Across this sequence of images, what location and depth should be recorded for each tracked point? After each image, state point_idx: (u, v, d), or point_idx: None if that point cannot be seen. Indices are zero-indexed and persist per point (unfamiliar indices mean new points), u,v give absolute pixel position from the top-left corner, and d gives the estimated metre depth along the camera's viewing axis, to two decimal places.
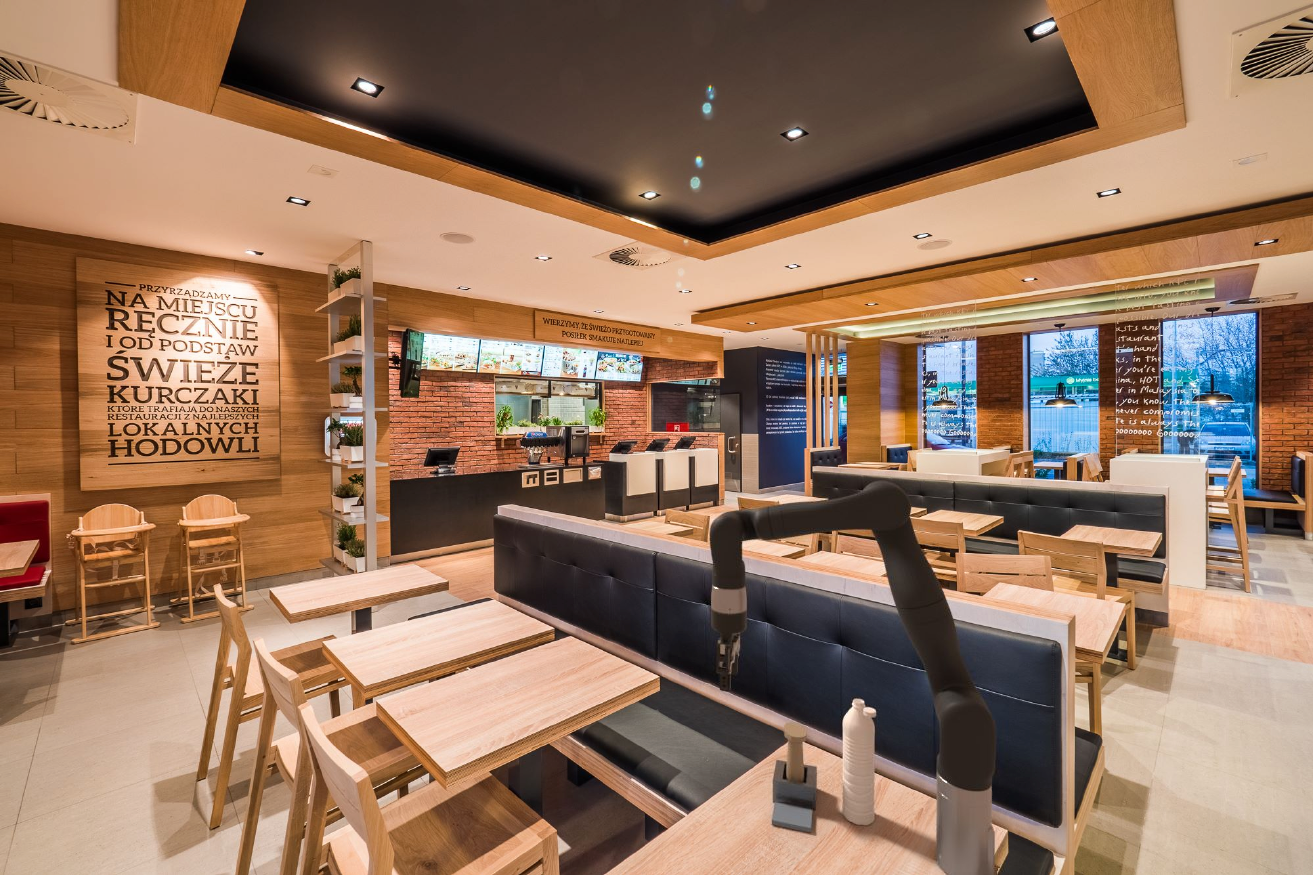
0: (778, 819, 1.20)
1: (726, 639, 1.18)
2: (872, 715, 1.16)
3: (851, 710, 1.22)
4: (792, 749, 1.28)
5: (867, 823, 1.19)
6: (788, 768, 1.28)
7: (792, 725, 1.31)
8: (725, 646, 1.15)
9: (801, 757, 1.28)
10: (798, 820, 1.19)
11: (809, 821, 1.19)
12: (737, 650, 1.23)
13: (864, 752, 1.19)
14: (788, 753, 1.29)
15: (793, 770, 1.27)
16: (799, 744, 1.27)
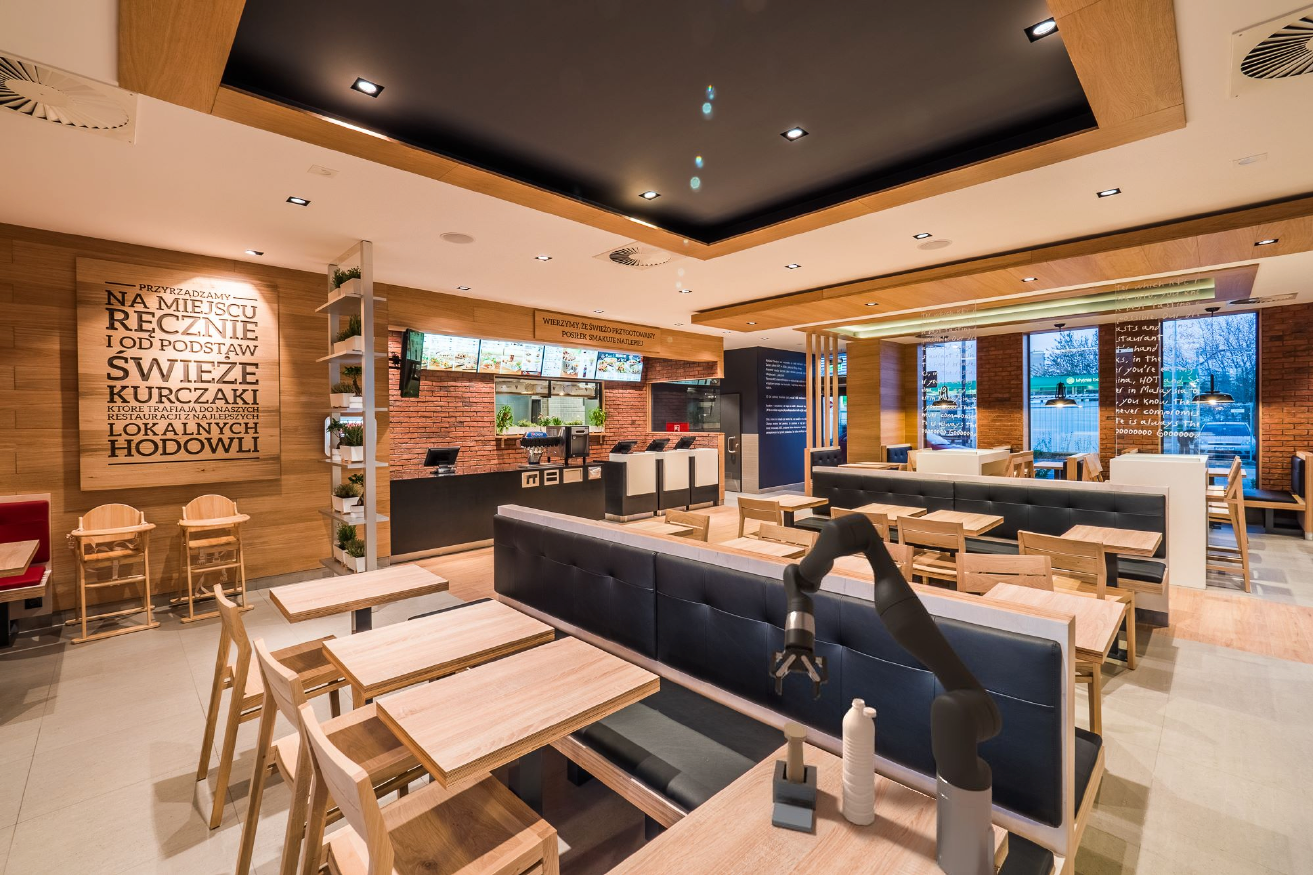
0: (778, 819, 1.20)
1: None
2: (872, 715, 1.16)
3: (851, 710, 1.22)
4: (792, 749, 1.28)
5: (867, 823, 1.19)
6: (788, 768, 1.28)
7: (792, 725, 1.31)
8: None
9: (801, 757, 1.28)
10: (798, 820, 1.19)
11: (809, 821, 1.19)
12: (809, 672, 1.41)
13: (864, 752, 1.19)
14: (788, 753, 1.29)
15: (793, 770, 1.27)
16: (799, 744, 1.27)
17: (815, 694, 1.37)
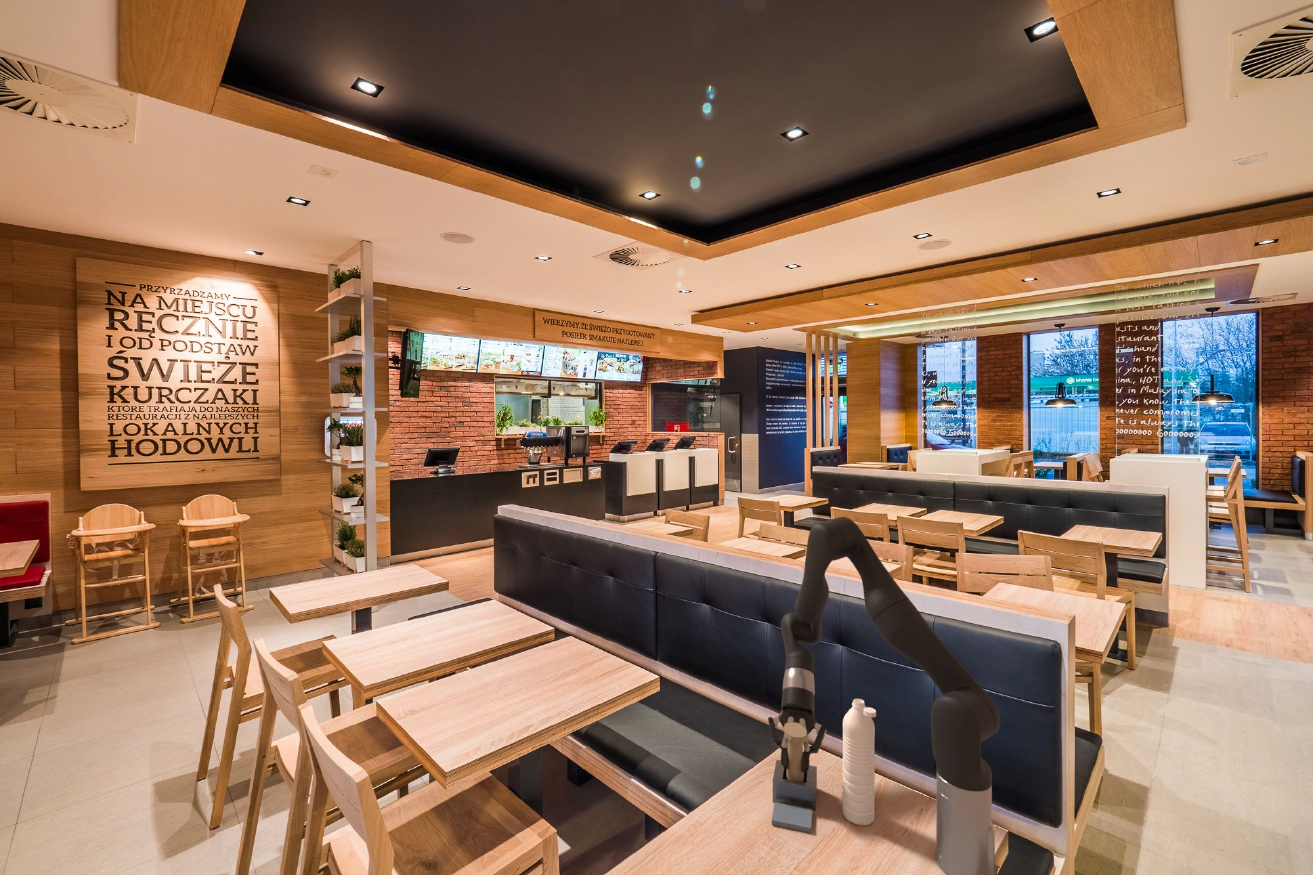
0: (778, 819, 1.20)
1: None
2: (872, 715, 1.16)
3: (851, 710, 1.22)
4: (792, 749, 1.28)
5: (867, 823, 1.19)
6: (788, 768, 1.28)
7: (792, 725, 1.31)
8: None
9: (801, 757, 1.28)
10: (798, 820, 1.19)
11: (809, 821, 1.19)
12: None
13: (864, 752, 1.19)
14: (788, 753, 1.29)
15: (793, 770, 1.27)
16: (799, 744, 1.27)
17: (804, 766, 1.26)
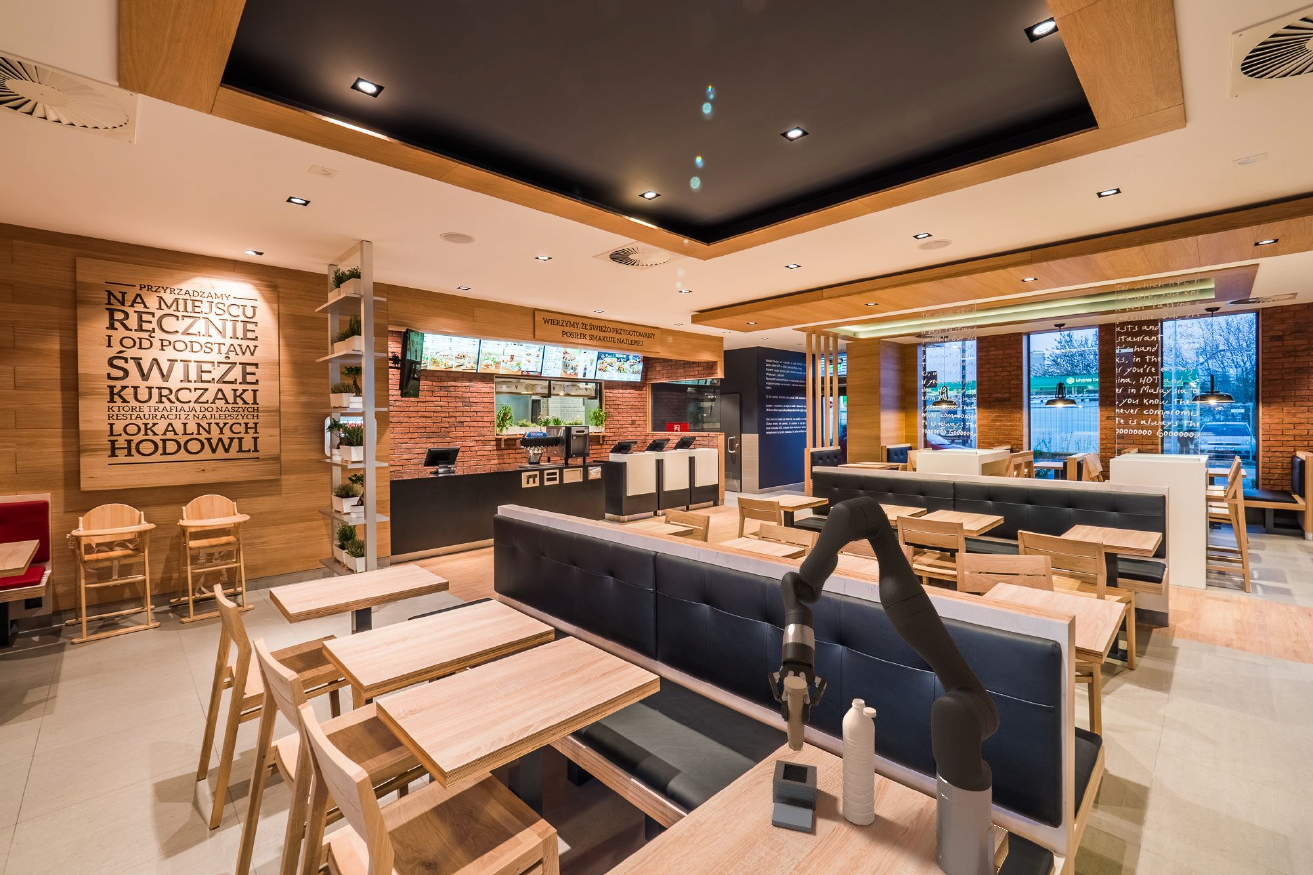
0: (778, 819, 1.20)
1: (780, 670, 1.35)
2: (872, 715, 1.16)
3: (851, 710, 1.22)
4: (792, 702, 1.28)
5: (867, 823, 1.19)
6: (788, 721, 1.28)
7: (792, 678, 1.31)
8: None
9: (801, 709, 1.28)
10: (798, 820, 1.19)
11: (809, 821, 1.19)
12: None
13: (864, 752, 1.19)
14: (788, 706, 1.29)
15: (793, 723, 1.27)
16: (799, 696, 1.27)
17: (804, 718, 1.26)
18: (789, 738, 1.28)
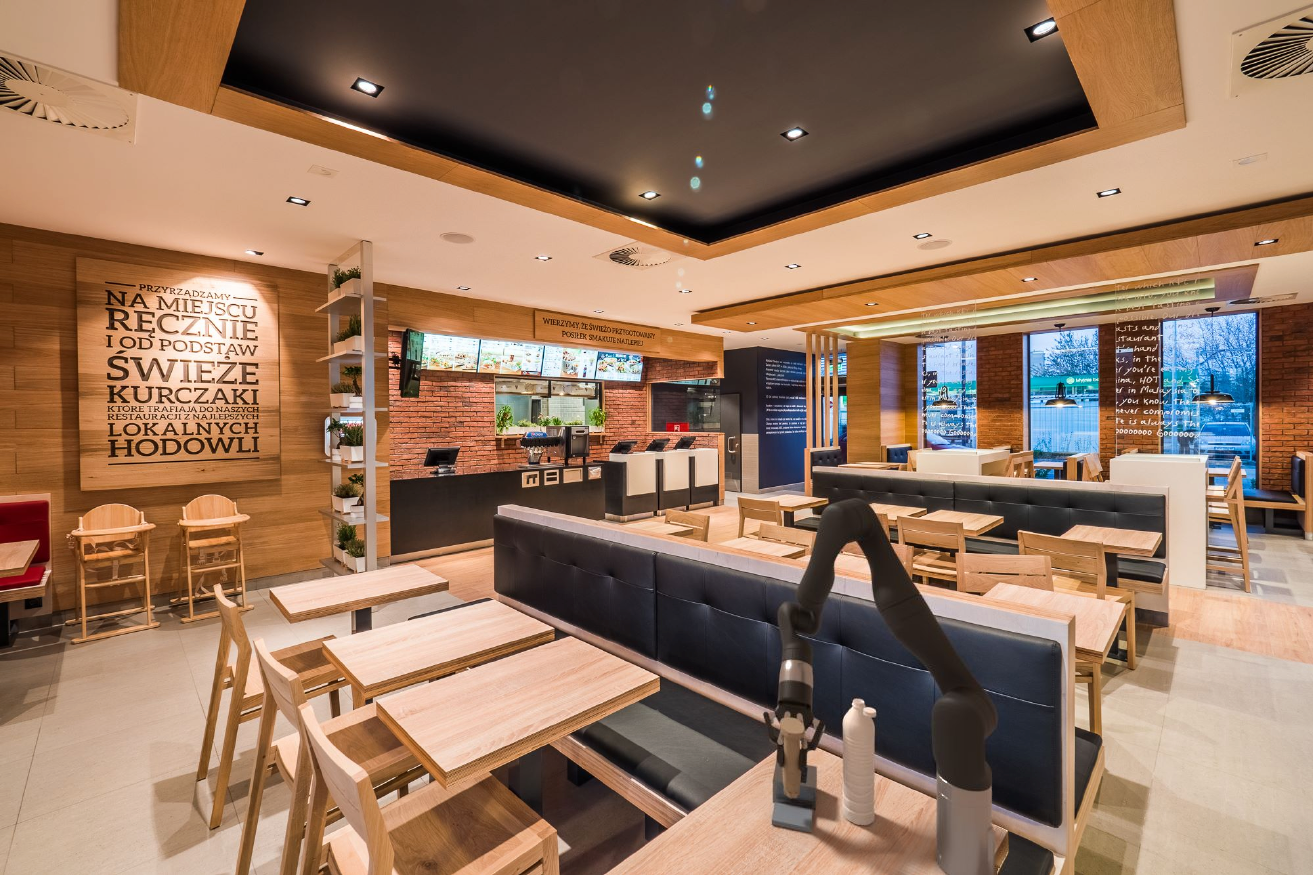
0: (778, 819, 1.20)
1: None
2: (872, 715, 1.16)
3: (851, 710, 1.22)
4: (789, 746, 1.20)
5: (867, 823, 1.19)
6: (784, 766, 1.20)
7: (789, 720, 1.23)
8: None
9: (798, 754, 1.20)
10: (798, 820, 1.19)
11: (809, 821, 1.19)
12: None
13: (864, 752, 1.19)
14: (784, 750, 1.21)
15: (789, 769, 1.19)
16: (796, 741, 1.19)
17: (801, 764, 1.18)
18: (785, 785, 1.20)
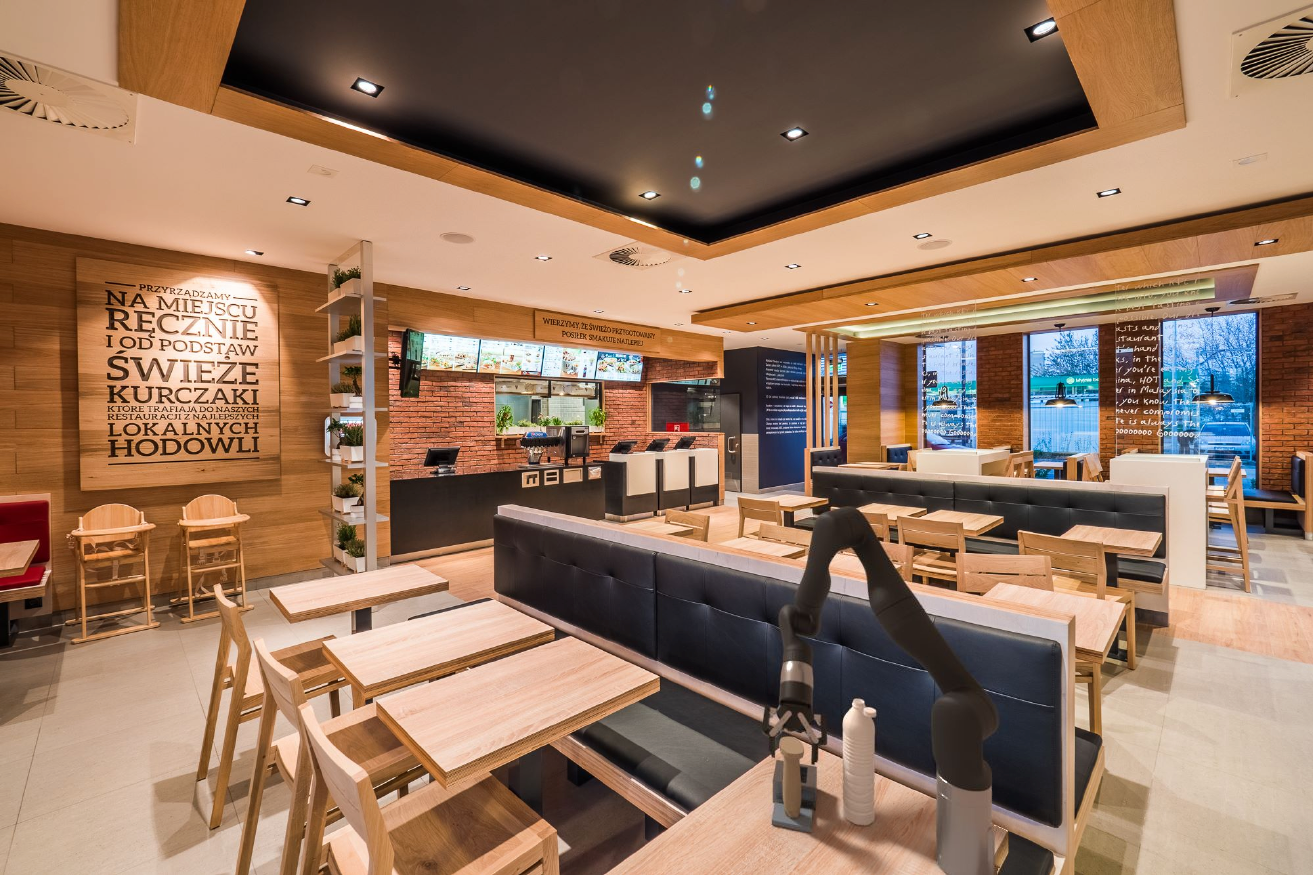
0: (778, 819, 1.20)
1: None
2: (872, 715, 1.16)
3: (851, 710, 1.22)
4: (788, 766, 1.19)
5: (867, 823, 1.19)
6: (784, 786, 1.20)
7: (788, 740, 1.22)
8: None
9: (798, 774, 1.20)
10: (798, 820, 1.19)
11: (809, 821, 1.19)
12: (807, 732, 1.26)
13: (864, 752, 1.19)
14: (784, 770, 1.20)
15: (789, 789, 1.19)
16: (796, 761, 1.19)
17: (813, 758, 1.22)
18: (785, 805, 1.20)
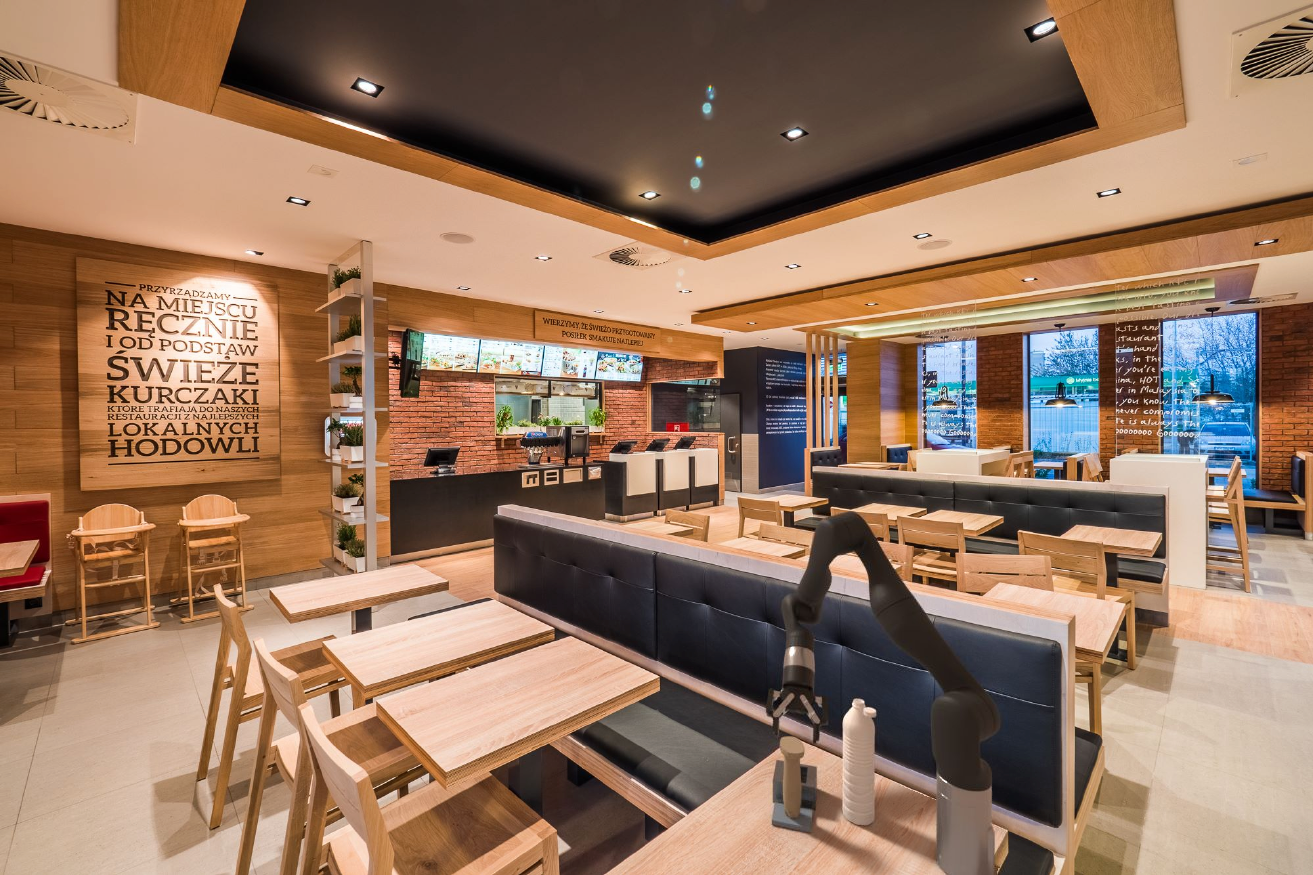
0: (778, 819, 1.20)
1: None
2: (872, 715, 1.16)
3: (851, 710, 1.22)
4: (789, 766, 1.20)
5: (867, 823, 1.19)
6: (784, 786, 1.20)
7: (789, 740, 1.23)
8: None
9: (798, 774, 1.20)
10: (798, 820, 1.19)
11: (809, 821, 1.19)
12: (809, 713, 1.33)
13: (864, 752, 1.19)
14: (784, 770, 1.21)
15: (790, 788, 1.19)
16: (796, 760, 1.19)
17: (814, 737, 1.29)
18: (785, 805, 1.20)
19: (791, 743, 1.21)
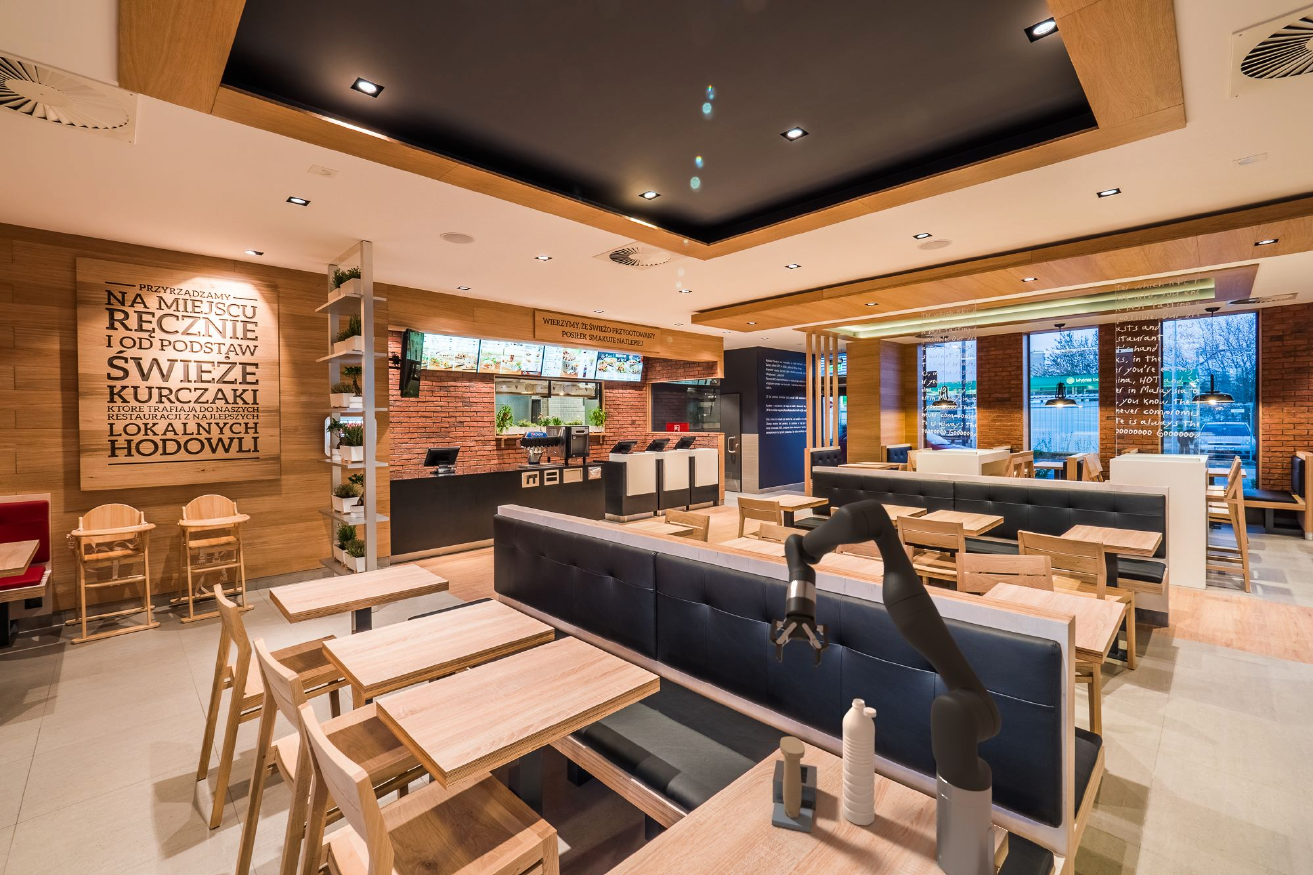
0: (778, 819, 1.20)
1: None
2: (872, 715, 1.16)
3: (851, 710, 1.22)
4: (789, 766, 1.19)
5: (867, 823, 1.19)
6: (785, 786, 1.20)
7: (789, 740, 1.23)
8: None
9: (798, 774, 1.20)
10: (798, 820, 1.19)
11: (809, 821, 1.19)
12: (810, 639, 1.39)
13: (864, 752, 1.19)
14: (785, 770, 1.20)
15: (790, 789, 1.19)
16: (796, 760, 1.19)
17: (816, 661, 1.35)
18: (785, 805, 1.20)
19: (791, 743, 1.21)
